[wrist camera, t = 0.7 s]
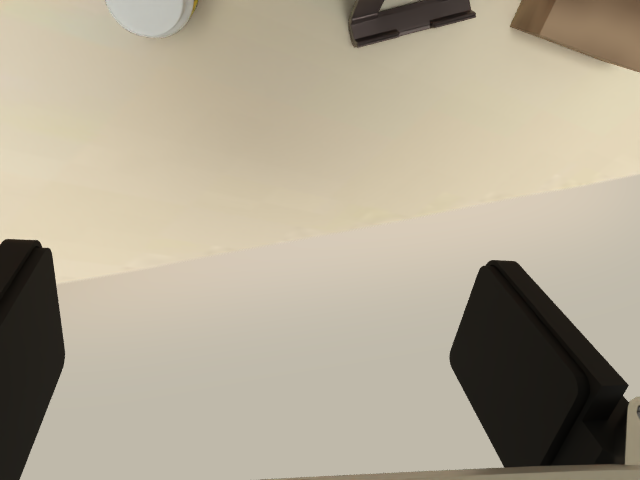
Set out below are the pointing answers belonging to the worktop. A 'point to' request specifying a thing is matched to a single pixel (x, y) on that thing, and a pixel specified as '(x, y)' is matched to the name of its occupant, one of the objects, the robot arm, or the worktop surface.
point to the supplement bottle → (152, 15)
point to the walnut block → (586, 27)
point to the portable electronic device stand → (402, 19)
